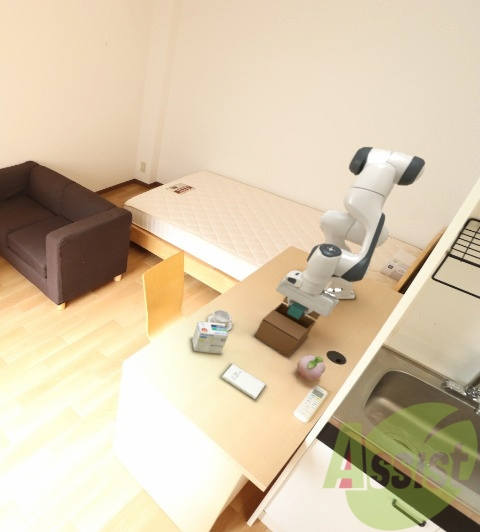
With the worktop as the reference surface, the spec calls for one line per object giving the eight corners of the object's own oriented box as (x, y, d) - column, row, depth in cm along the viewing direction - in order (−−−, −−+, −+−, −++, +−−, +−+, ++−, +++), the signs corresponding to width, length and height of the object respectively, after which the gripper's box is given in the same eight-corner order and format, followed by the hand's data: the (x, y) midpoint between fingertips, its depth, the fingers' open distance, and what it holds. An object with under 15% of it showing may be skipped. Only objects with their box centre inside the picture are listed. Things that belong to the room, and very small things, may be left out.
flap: (282, 301, 150) (282, 301, 150) (316, 320, 142) (316, 319, 142) (293, 284, 147) (293, 284, 147) (328, 302, 139) (328, 302, 139)
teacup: (223, 335, 146) (226, 327, 144) (202, 321, 153) (205, 314, 150) (236, 325, 152) (239, 317, 149) (216, 312, 158) (218, 304, 155)
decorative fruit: (298, 362, 137) (309, 344, 131) (321, 375, 132) (333, 358, 126) (288, 375, 132) (299, 357, 126) (311, 390, 127) (323, 372, 121)
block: (286, 313, 143) (291, 304, 140) (291, 308, 145) (296, 300, 143) (298, 319, 140) (303, 311, 137) (303, 314, 143) (308, 306, 140)
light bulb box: (217, 341, 144) (225, 322, 137) (221, 354, 138) (229, 335, 132) (191, 338, 144) (197, 320, 138) (193, 351, 139) (200, 332, 133)
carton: (273, 318, 156) (282, 301, 150) (306, 337, 148) (317, 319, 142) (254, 336, 147) (263, 318, 141) (287, 357, 139) (298, 339, 132)
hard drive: (254, 400, 123) (221, 378, 129) (264, 386, 127) (231, 365, 134) (256, 397, 122) (222, 375, 128) (265, 383, 126) (233, 362, 133)
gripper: (344, 295, 129) (327, 322, 137) (288, 268, 141) (275, 294, 149) (338, 302, 126) (320, 329, 134) (281, 274, 138) (268, 300, 146)
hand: (296, 310), depth 142 cm, fingers closed on block, 4 cm apart
